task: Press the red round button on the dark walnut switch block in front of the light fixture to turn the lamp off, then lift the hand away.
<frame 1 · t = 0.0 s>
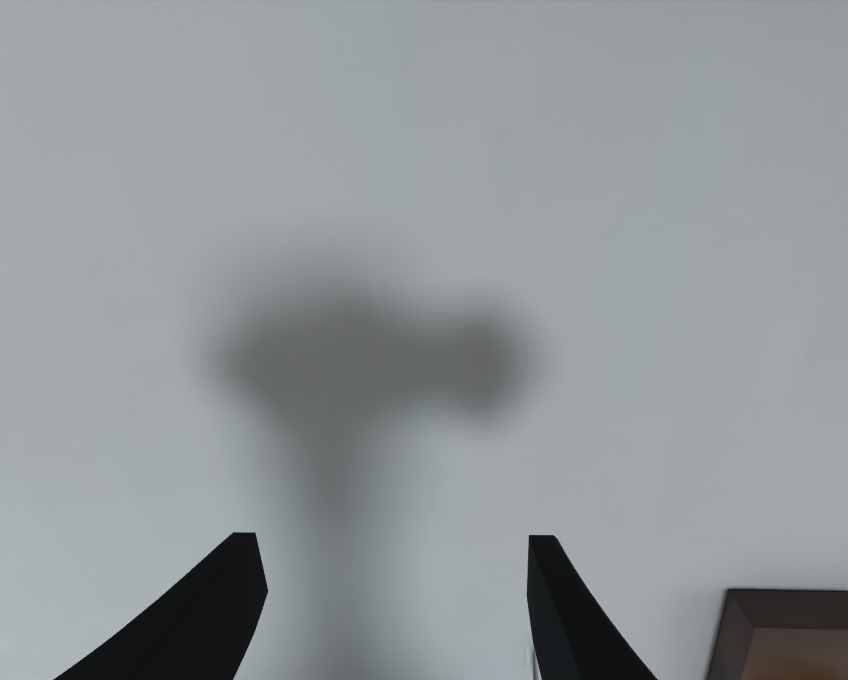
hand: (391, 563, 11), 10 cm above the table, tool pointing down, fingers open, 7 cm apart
switch block: (801, 669, 25), on the table
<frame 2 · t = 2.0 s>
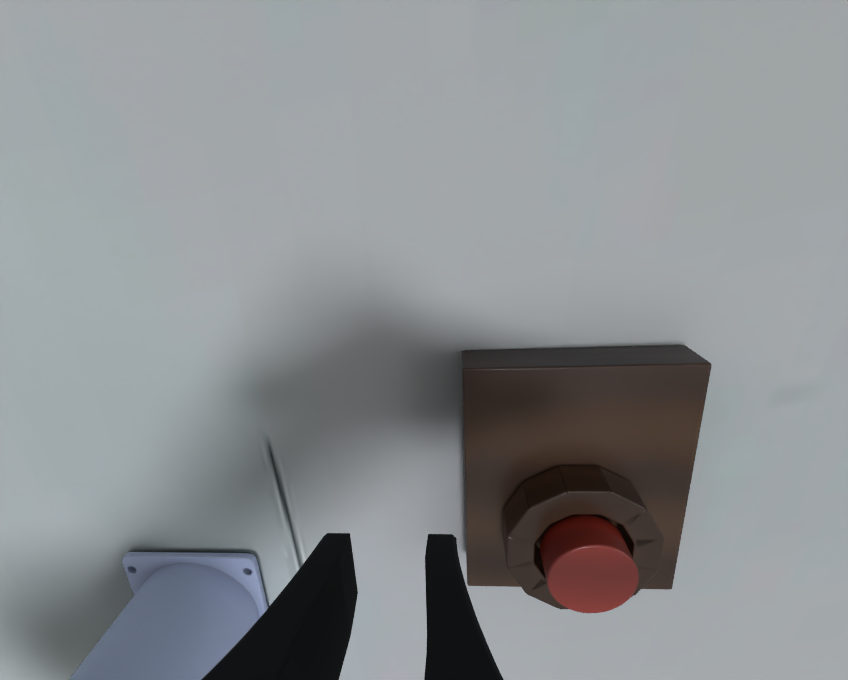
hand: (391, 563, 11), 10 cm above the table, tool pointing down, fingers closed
switch block: (564, 459, 22), on the table
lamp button: (586, 563, 18), point 4 cm above the table, slide at 0.1 cm
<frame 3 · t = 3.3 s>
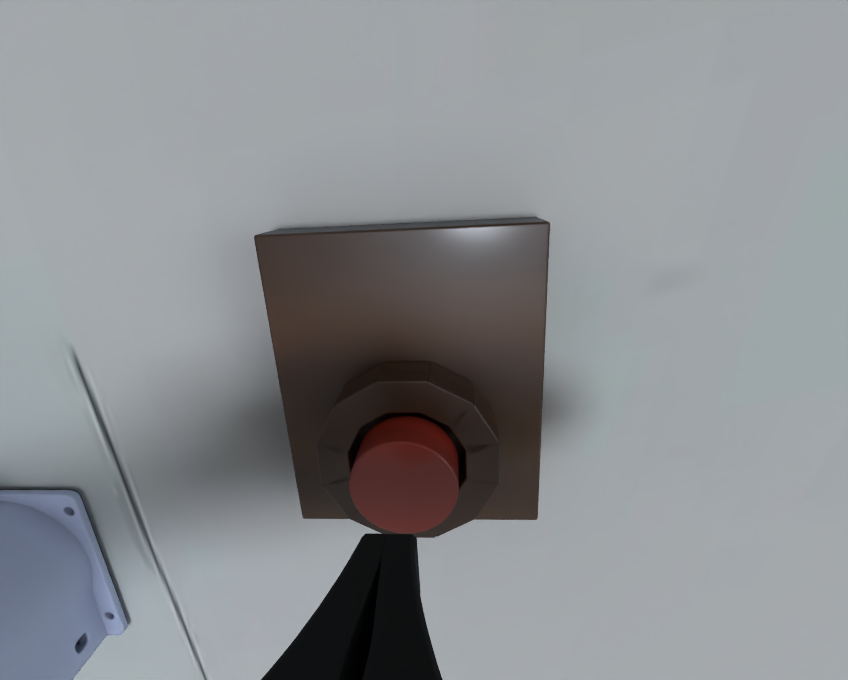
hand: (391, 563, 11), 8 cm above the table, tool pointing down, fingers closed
switch block: (413, 368, 19), on the table
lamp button: (405, 473, 15), point 4 cm above the table, slide at 0.1 cm
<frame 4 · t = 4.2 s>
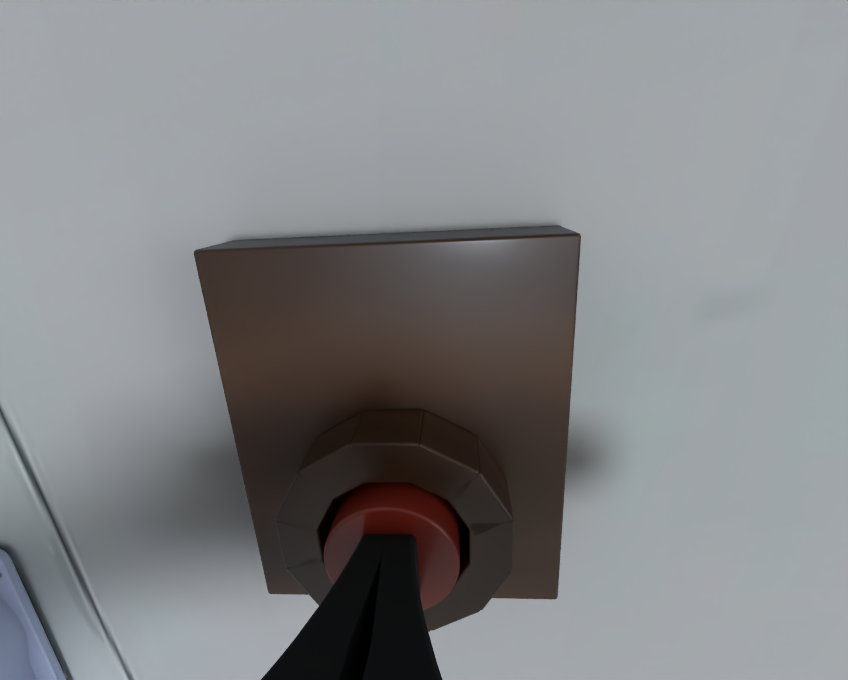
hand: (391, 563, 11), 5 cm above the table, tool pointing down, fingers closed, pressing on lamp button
switch block: (404, 410, 15), on the table
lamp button: (394, 539, 12), point 4 cm above the table, slide at -0.6 cm, touching gripper
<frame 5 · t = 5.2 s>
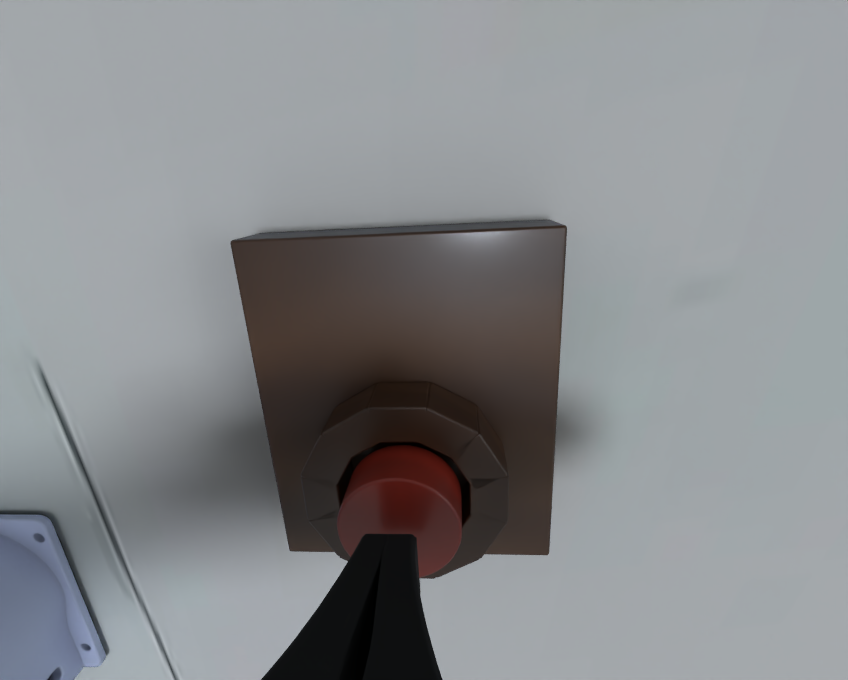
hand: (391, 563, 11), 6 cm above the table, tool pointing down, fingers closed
switch block: (412, 386, 17), on the table
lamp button: (402, 510, 13), point 4 cm above the table, slide at 0.1 cm
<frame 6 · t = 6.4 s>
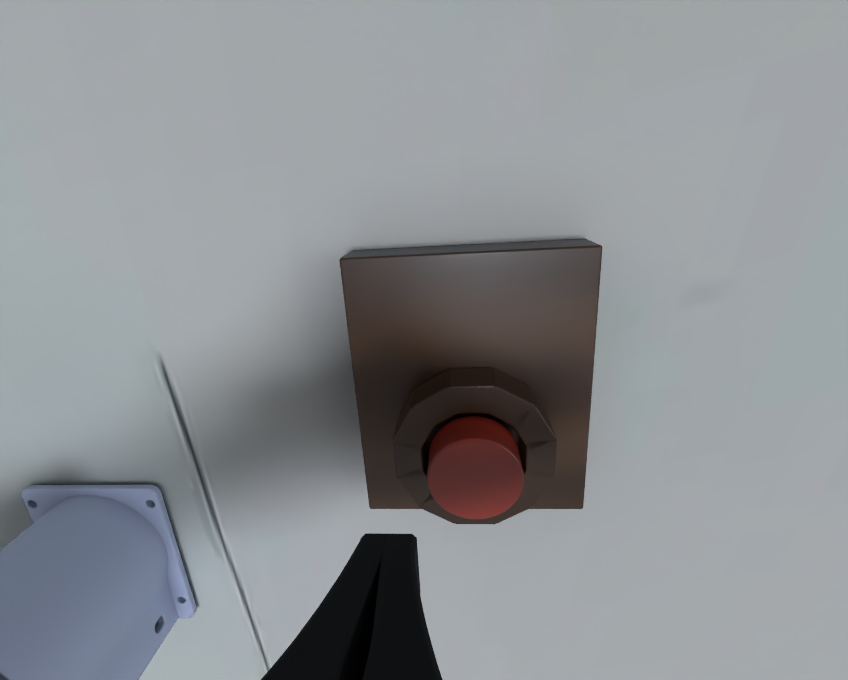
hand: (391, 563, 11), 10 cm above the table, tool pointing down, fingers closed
switch block: (469, 373, 21), on the table
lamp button: (474, 467, 17), point 4 cm above the table, slide at 0.1 cm
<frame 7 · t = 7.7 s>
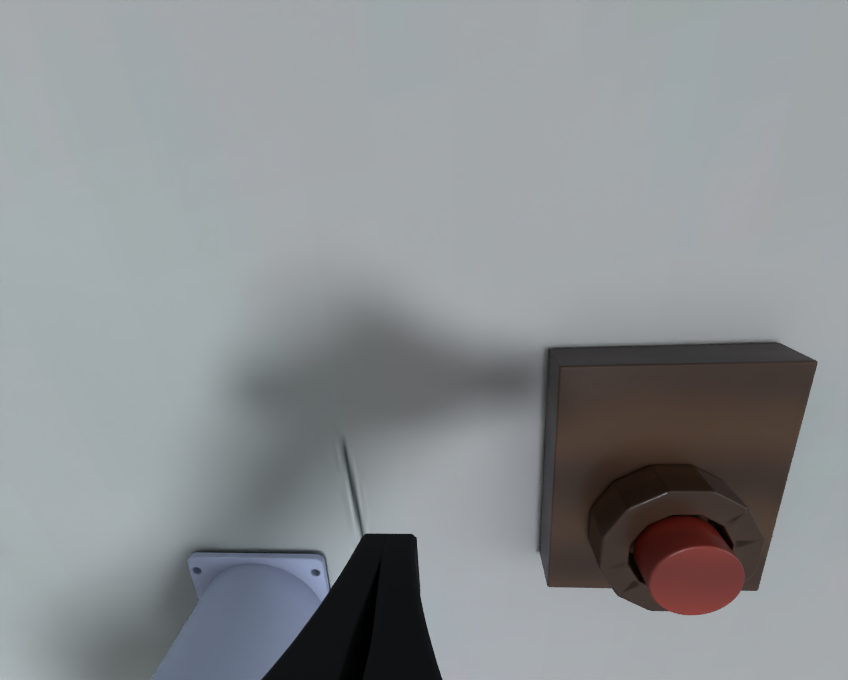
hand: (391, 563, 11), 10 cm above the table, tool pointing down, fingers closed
switch block: (646, 459, 22), on the table
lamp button: (685, 564, 18), point 4 cm above the table, slide at 0.1 cm
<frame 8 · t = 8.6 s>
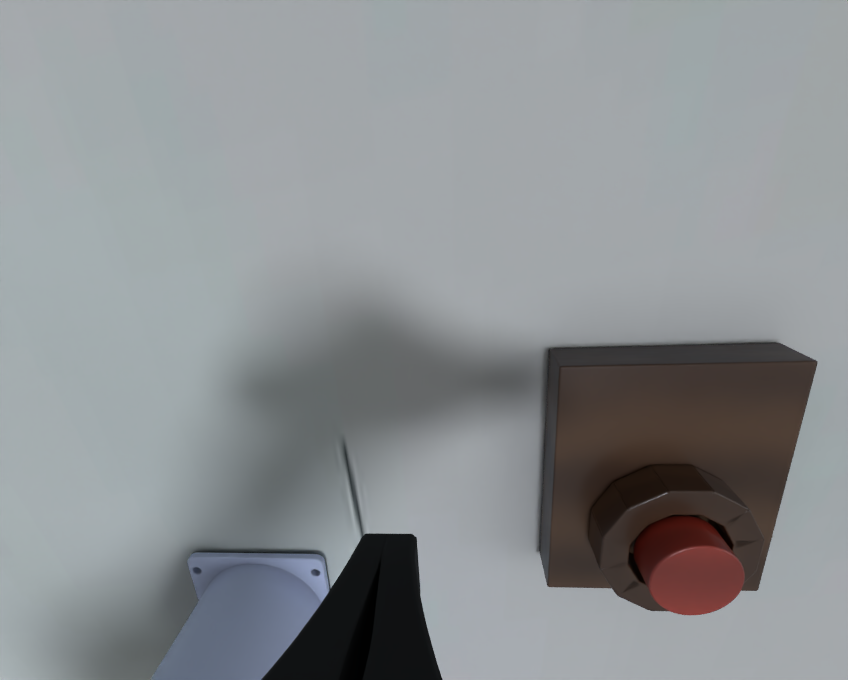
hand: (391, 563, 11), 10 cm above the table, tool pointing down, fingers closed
switch block: (646, 459, 22), on the table
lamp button: (685, 564, 18), point 4 cm above the table, slide at 0.1 cm
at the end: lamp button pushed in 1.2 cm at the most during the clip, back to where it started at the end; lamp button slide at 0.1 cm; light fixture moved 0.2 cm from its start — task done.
